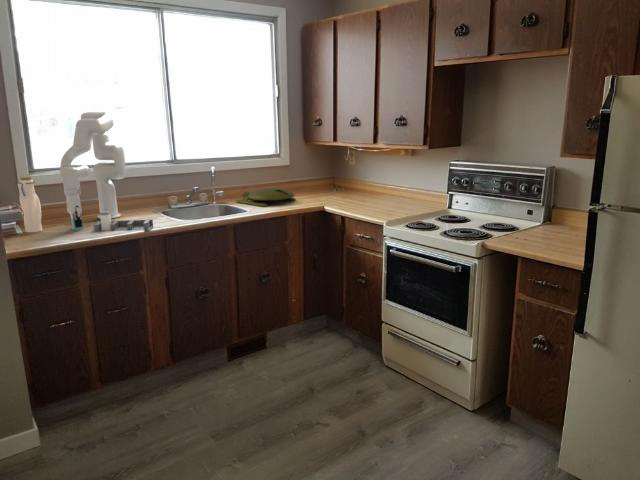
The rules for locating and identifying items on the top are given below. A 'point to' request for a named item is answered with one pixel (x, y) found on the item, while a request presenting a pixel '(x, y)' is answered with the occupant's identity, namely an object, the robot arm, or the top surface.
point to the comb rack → (126, 225)
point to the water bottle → (30, 205)
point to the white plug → (105, 220)
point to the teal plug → (74, 223)
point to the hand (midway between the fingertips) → (77, 225)
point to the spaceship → (266, 196)
